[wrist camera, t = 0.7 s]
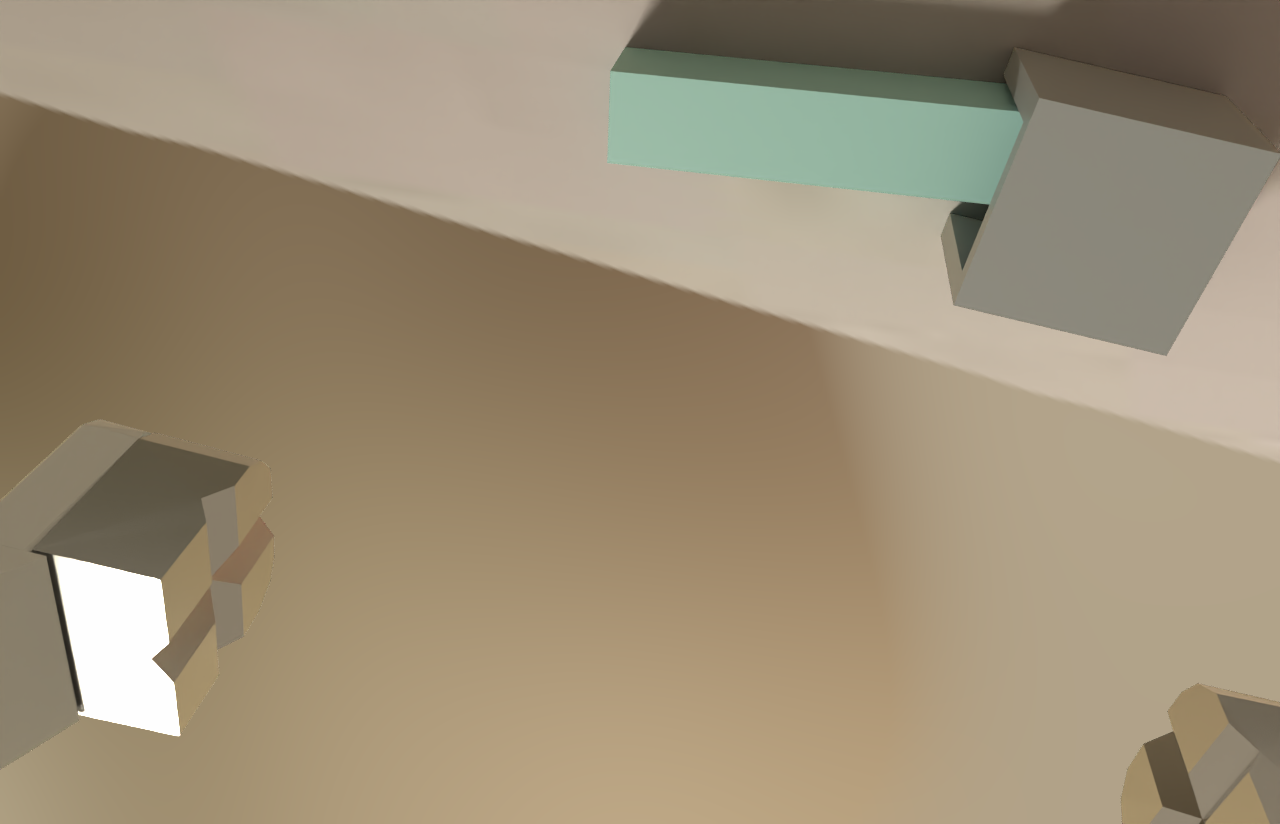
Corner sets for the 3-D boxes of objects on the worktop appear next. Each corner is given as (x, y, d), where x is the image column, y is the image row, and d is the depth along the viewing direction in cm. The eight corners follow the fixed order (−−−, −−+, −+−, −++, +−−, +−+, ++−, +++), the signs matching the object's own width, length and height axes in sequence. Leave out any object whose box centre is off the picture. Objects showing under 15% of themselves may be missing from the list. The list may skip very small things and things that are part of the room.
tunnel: (940, 236, 49) (953, 305, 43) (1014, 47, 43) (1039, 98, 38) (1129, 280, 48) (1166, 355, 43) (1225, 96, 43) (1282, 153, 38)
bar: (623, 131, 49) (607, 163, 45) (626, 44, 46) (610, 71, 43) (1015, 173, 47) (1028, 208, 43) (1038, 84, 44) (1054, 115, 41)
